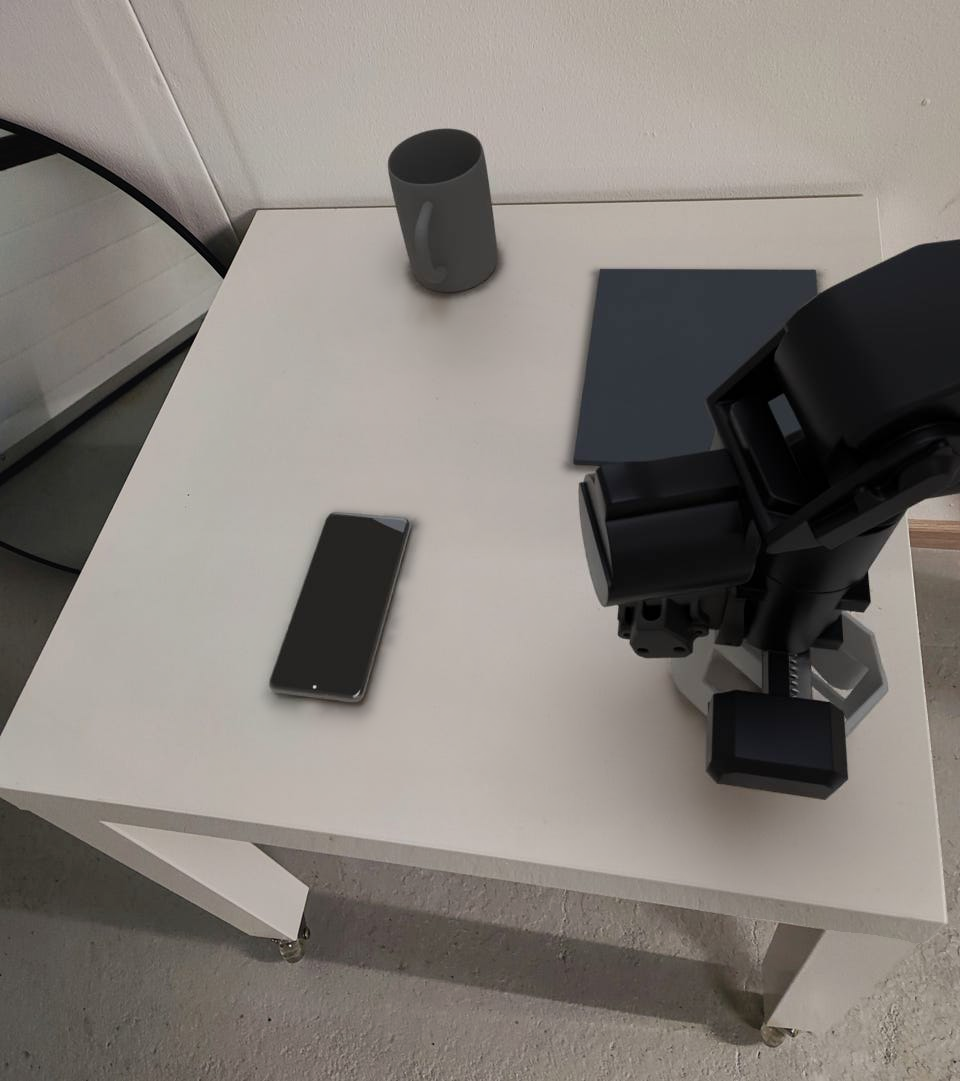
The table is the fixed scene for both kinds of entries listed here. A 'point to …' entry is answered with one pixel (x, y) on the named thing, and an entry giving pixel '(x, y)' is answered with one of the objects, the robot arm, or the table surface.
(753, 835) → the table surface
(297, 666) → the smartphone
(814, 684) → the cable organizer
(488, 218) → the mug
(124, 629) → the table surface
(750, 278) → the mat
